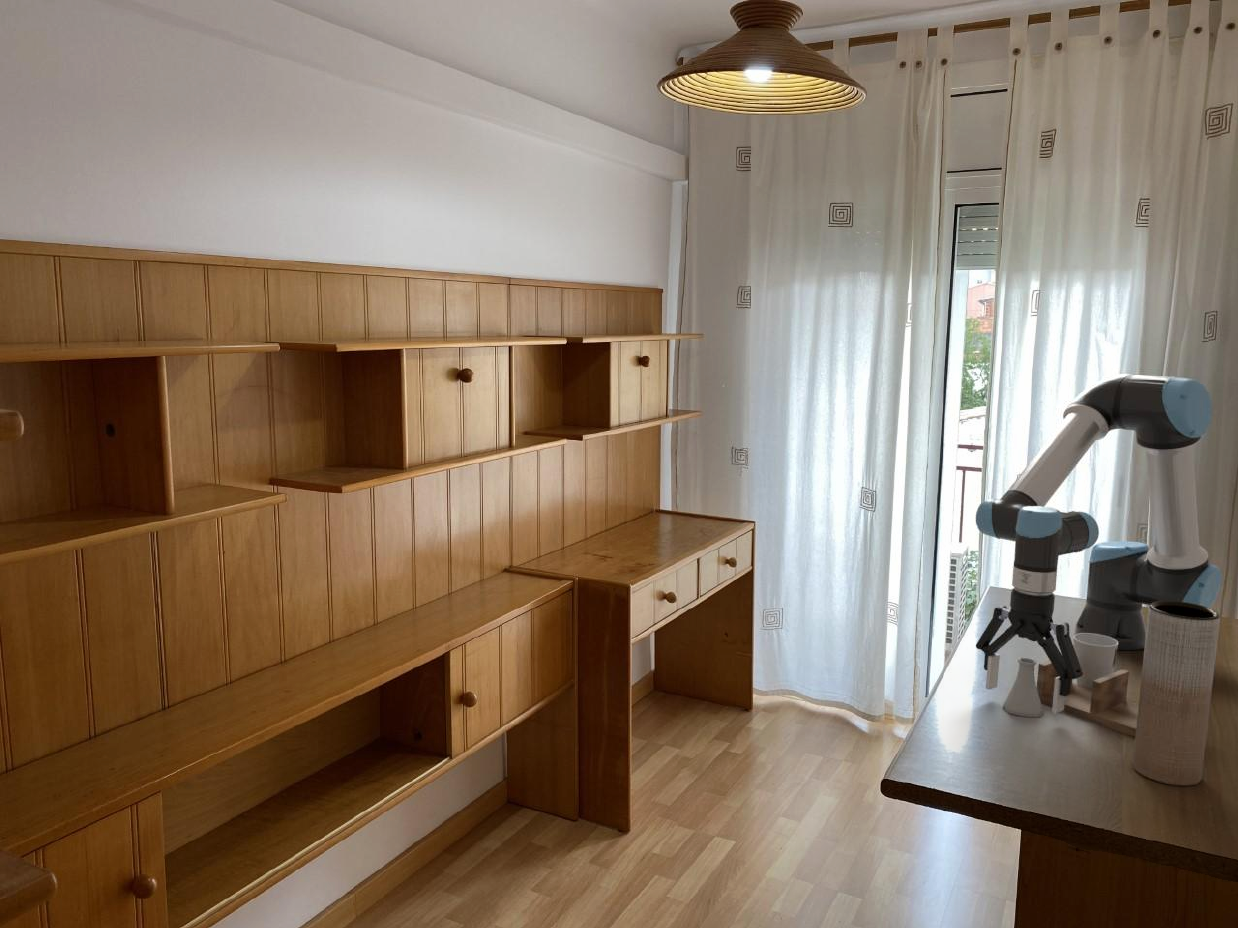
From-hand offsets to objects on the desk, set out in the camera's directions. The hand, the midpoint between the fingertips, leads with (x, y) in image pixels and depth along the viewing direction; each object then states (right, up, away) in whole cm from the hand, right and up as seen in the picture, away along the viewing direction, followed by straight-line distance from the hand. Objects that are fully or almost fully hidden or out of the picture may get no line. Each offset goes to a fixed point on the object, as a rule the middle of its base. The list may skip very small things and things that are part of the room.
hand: (1023, 699), depth 185 cm
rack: (+16, -3, 0) cm, 16 cm away
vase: (+13, -6, -24) cm, 28 cm away
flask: (0, -2, 0) cm, 2 cm away
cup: (+19, -1, +13) cm, 23 cm away
